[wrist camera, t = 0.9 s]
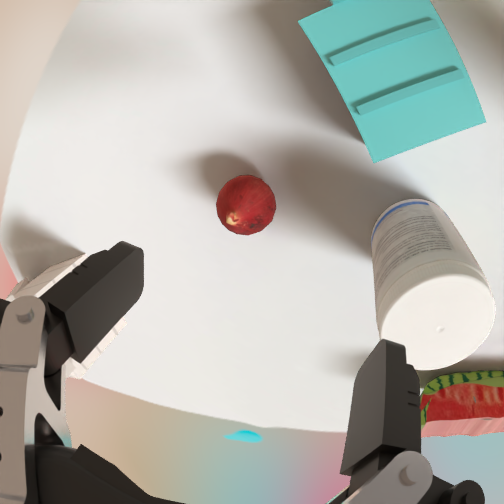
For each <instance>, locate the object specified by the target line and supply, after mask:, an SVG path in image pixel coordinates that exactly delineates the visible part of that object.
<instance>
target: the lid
mask: <svg viewBox="0 0 504 504" xmlns="http://www.w3.org/2000/svg"><path fill="white" fill-rule="evenodd" d="M329 1H330V3H331V4H332V6H330V7H327V8H325V9H323V10H321V11H318V12H316V13H314V14H312V15H309V16H307V17H305V18H303V19H301V20H299V21H298V23H299V24H300V26H301V27H302V29H303V31H304V32H305V34H306V35H307V37H308V38H309V40H310V42H311V43H312V45H313V46H314V48H315V50H316V51H317V53H318V55H319V56H320V58H321V60H322V61H323V63H324V65H325V67H326V68H327V70H328V72H329V74H330V75H331V77H332V79H333V81H334V83H335V85H336V86H337V88H338V90H339V92H340V94H341V96H342V98H343V100H344V101H345V103H346V105H347V107H348V109H349V111H350V113H351V115H352V117H353V119H354V121H355V123H356V125H357V128H358V130H359V132H360V134H361V136H362V138H363V140H364V143H365V145H366V147H367V149H368V151H369V154H370V156H371V158H372V161H373V163H376V162H379V161H381V160H384V159H386V158H389V157H391V156H394V155H397V154H399V153H402V152H405V151H407V150H410V149H413V148H415V147H418V146H421V145H423V144H426V143H429V142H431V141H434V140H437V139H440V138H442V137H445V136H448V135H451V134H454V133H456V132H459V131H462V130H465V129H468V128H470V127H473V126H476V125H479V124H482V123H485V122H486V120H485V117H484V114H483V111H482V108H481V105H480V103H479V100H478V97H477V95H476V92H475V89H474V87H473V85H472V82H471V80H470V77H469V75H468V73H467V70H466V68H465V66H464V64H463V61H462V59H461V57H460V55H459V53H458V51H457V49H456V47H455V45H454V43H453V41H452V39H451V37H450V35H449V33H448V31H447V30H446V28H445V26H444V24H443V22H442V20H441V19H440V17H439V15H438V14H437V12H436V10H435V9H434V7H433V5H432V4H431V2H430V0H329Z"/></svg>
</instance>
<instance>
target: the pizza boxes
mask: <svg viewBox="0 0 504 504" xmlns="http://www.w3.org/2000/svg"><path fill="white" fill-rule="evenodd" d="M87 258H88V257H87V255H86V254H83V255H81V256H78V257H75V258H72V259H70V260H67V261H64V262H62V263H59V264H56V265H54V266H51V267H49V268H48V269H46V270H45V271H44V272H43V273H41V274H40V275H39V276H37V277H36V278H35V279H34V280H32V281H31V282H30V283H29V282H28V280H27V278H25V279H24V280H22V281H21V282H19V283H18V284H17V285H16V286H15V287H14V288H13V290H12V291H11V293H10V294H9V295H8V297H7V298H6V300H7V301H10V302H12V301H13V300H15V299H17V298H19V297H22V296H35V297H37V298H39V297H40V296H41V295H42V294H44V293H45V292H46V291H47V290H48V289H50V288H51V287H52V286H53V285H54V284H56V283H57V282H58V281H59V280H60V279H62V278H63V277H64V276H65V275H67V274H68V273H69V272H72V270H73V269H74V268H75V267H76V266H78V265H79V266H80V263H82V262H83V261H84V260H85V259H87ZM126 324H127V322H126V320H125V319H124V317H122V318H121V319H120V320H119V321H118V323H117V324H116V325H115V326H114V327H113V328H112V329H111V330H110V331H109V332H108V334H107V335H106V336H105V337H104V338H103V339H102V340H101V341H100V343H99V344H98V345H97V346H96V347H95V348H94V349H93V350H92V352H91V353H90V354H89V355H88V356H87V357H86V358H85V360H84V361H83V362H82V363H81V364H80V363H78V362H77V361H75V360H74V359H72V358H71V357H70V358H69V359H68V360H67V361H66V362H65V365H66V376H65V380H66V379H67V378H68V377H72V378H77V379H81V378H82V376H83V375H84V374H85V373H86V372H87V370H88V369H89V368H90V367H91V366H92V364H93V363H94V362H95V361H96V360H97V358H98V357H99V356H100V355H101V354H102V352H103V351H104V350H105V349H106V348H107V347H108V345H109V344H110V343H111V342H112V341H113V339H114V338H115V337H116V336H117V335H118V334H119V333H120V331H121V330H122V329H123V328H124V327H125V326H126Z"/></svg>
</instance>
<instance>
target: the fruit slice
mask: <svg viewBox="0 0 504 504" xmlns="http://www.w3.org/2000/svg"><path fill="white" fill-rule="evenodd" d="M419 397H420V403H421V406H420V408H421V437H430V436H443V437H446V436H452V435H469V436H478V435H481V434H488V433H496V432H504V371H473V372H468V373H454V374H450V375H444V376H439V377H437V378H435V379H434V380H432V381H430V382H429V383H428V384H427V385H426V386H425V388H424V390H423V392H422V394H421V395H420V396H419Z"/></svg>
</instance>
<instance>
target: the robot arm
mask: <svg viewBox="0 0 504 504" xmlns="http://www.w3.org/2000/svg"><path fill="white" fill-rule="evenodd" d="M143 287H144V253H143V250H142V249H141V248H139V247H136V246H134V245H131V244H129V243H127V242H124V241H121V242H119V243H117V244H116V245H115V246H113V247H112V248H111V249H110V250H108V251H107V250H103V251H100V252H98V253H95V254H92V255H90V256H89V257H88V258H87V259H85V260H84V261H83V262H82V263H80V266H79V265H78V266H76V267H75V268H74V269H73V270H72V272H69V273H68V274H67V275H65V276H64V277H63V278H62V279H60V280H59V281H58V282H57V283H56V284H54V285H53V286H52V287H51V288H50V289H48V290H47V291H46V292H45V293H44V294H42V295H41V296H40V297H39V298H37V297H35V296H22V297H19V298H17V299H15V300H13V301H12V302H10V301H7V300H3V299H0V504H184V503H179V502H174V501H170V500H164V499H160V498H156V497H153V496H150V495H148V494H147V493H145V492H144V491H143V490H142V489H141V488H139V487H138V486H137V485H136V484H135V483H134V482H132V481H131V480H130V479H129V478H128V477H127V476H126V475H125V474H123V473H122V472H121V471H120V470H119V469H118V468H117V467H116V466H115V465H113V464H112V463H110V462H108V461H106V460H105V459H103V458H102V457H100V456H99V455H97V454H95V453H94V452H92V451H91V450H89V449H88V448H86V447H85V446H83V445H82V444H81V445H80V446H79V447H78V449H74V448H72V444H71V436H70V431H69V428H68V424H67V421H66V415H65V376H66V365H65V362H66V361H67V360H68V359H69V358H70V357H71V358H72V359H74V360H75V361H77V362H78V363H80V364H81V363H82V362H83V361H84V360H85V358H86V357H87V356H88V355H89V354H90V353H91V352H92V350H93V349H94V348H95V347H96V346H97V345H98V344H99V343H100V341H101V340H102V339H103V338H104V337H105V336H106V335H107V334H108V332H109V331H110V330H111V329H112V328H113V327H114V326H115V325H116V324H117V323H118V321H119V320H120V319H121V318H122V317H123V316H124V315H125V314H126V313H127V312H128V311H129V309H130V308H131V307H132V306H133V305H134V304H135V303H136V302H137V301H138V299H139V298H140V296H141V294H142V291H143ZM419 395H420V383H419V378H418V375H417V373H416V371H415V369H414V366H413V365H410V364H407V360H406V348H405V346H404V345H402V344H399V343H396V342H393V341H390V340H386V339H381V340H380V341H379V343H378V344H377V345H376V347H375V348H374V350H373V351H372V353H371V354H370V355H369V357H368V358H367V360H366V361H365V362H364V364H363V365H362V366H361V368H360V370H359V372H358V374H357V376H356V379H355V382H354V388H353V396H352V404H351V411H350V418H349V425H348V431H347V437H346V443H345V449H344V454H343V460H342V465H341V470H340V474H343V475H348V476H351V480H350V485H348V486H347V487H346V488H344V489H343V490H342V491H341V492H340V493H338V494H337V495H336V496H335V497H334V498H332V499H331V500H330V501H328V502H327V503H326V504H484V503H485V497H484V493H483V490H482V488H481V487H480V485H478V483H476V482H474V481H472V480H466V481H463V482H461V483H459V484H457V485H455V486H454V485H452V484H450V483H448V482H446V481H444V480H442V479H439V478H438V477H436V476H434V475H433V473H432V468H431V465H430V463H429V462H428V460H427V459H426V458H425V457H424V456H423V455H422V454H421V408H420V406H421V403H420V397H419Z"/></svg>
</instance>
